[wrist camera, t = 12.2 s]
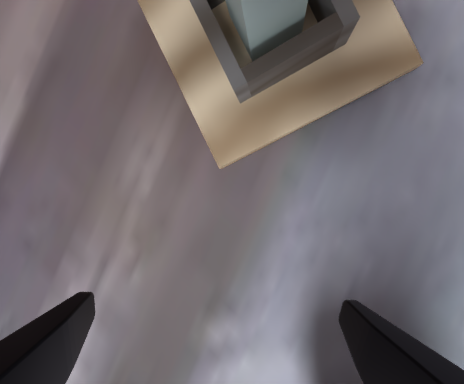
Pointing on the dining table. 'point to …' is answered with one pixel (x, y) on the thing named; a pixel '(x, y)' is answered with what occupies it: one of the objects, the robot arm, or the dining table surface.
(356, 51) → the post socket
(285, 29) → the rail end post
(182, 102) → the dining table surface
